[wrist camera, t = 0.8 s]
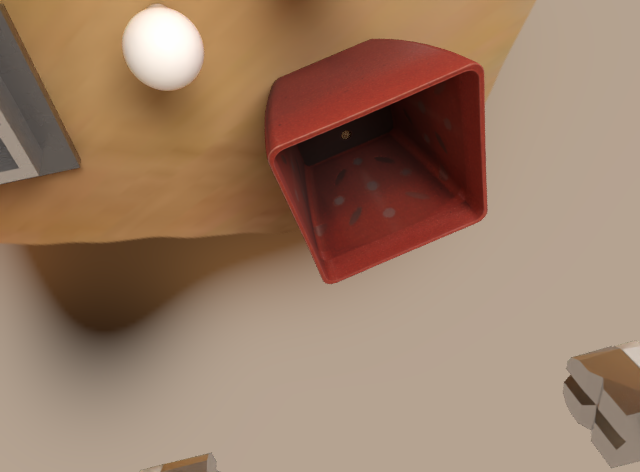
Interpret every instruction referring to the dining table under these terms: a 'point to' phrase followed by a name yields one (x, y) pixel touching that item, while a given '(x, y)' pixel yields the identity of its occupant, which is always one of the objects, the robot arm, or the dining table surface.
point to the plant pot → (379, 151)
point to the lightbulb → (163, 48)
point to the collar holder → (28, 116)
